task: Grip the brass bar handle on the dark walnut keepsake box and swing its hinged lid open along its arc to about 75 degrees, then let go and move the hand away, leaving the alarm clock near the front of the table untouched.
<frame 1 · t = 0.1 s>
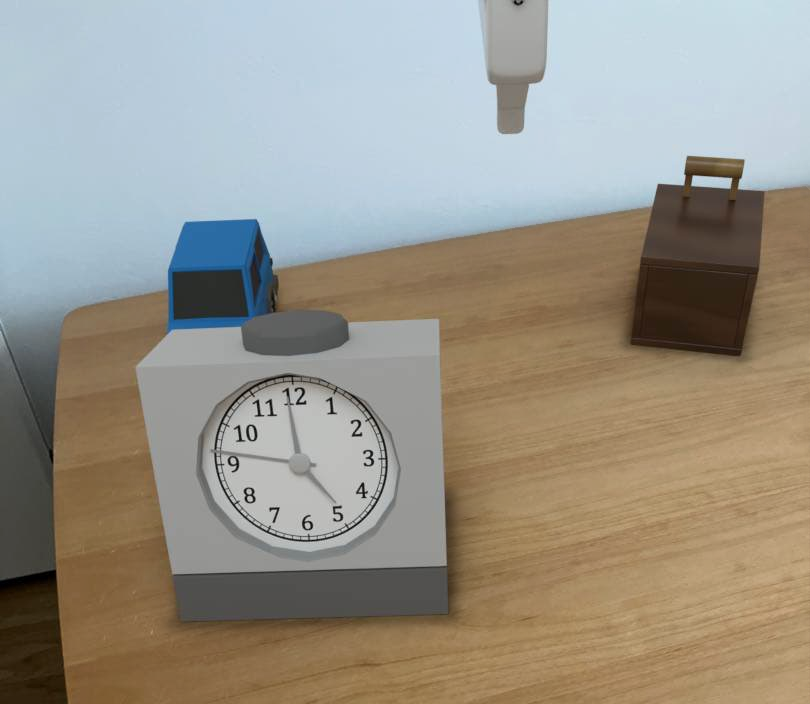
hand: (506, 103, 72), 29 cm above the table, tool pointing down, fingers open, 8 cm apart
chest: (690, 311, 104), on the table
alarm clock: (321, 546, 82), on the table
lid: (707, 206, 97), point 11 cm above the table, hinge at 0.0°
toy car: (226, 351, 104), on the table
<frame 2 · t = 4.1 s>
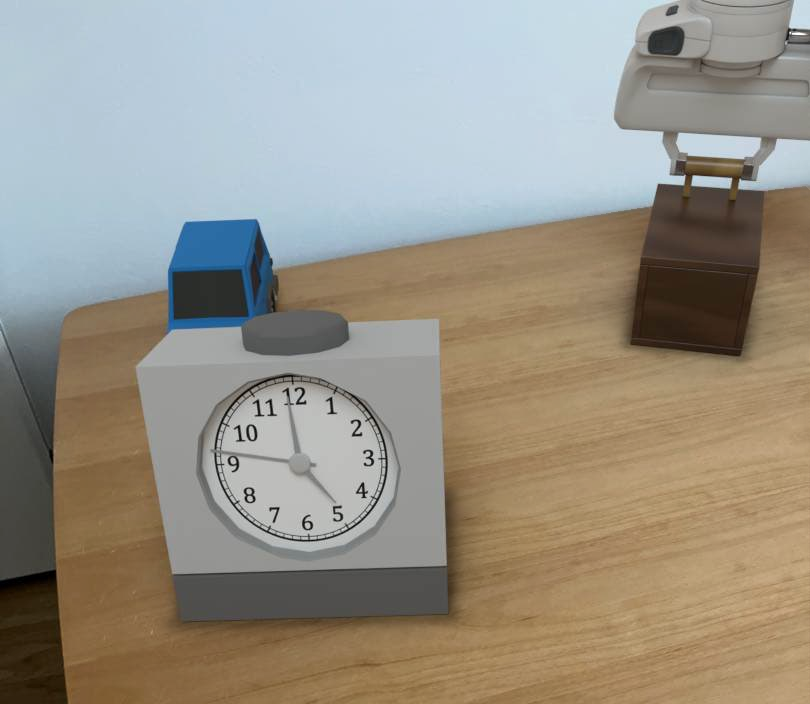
hand: (712, 176, 100), 12 cm above the table, tool pointing down, fingers closed on lid, 5 cm apart
lid: (707, 206, 97), point 11 cm above the table, hinge at 0.0°, touching gripper
everything else where it was.
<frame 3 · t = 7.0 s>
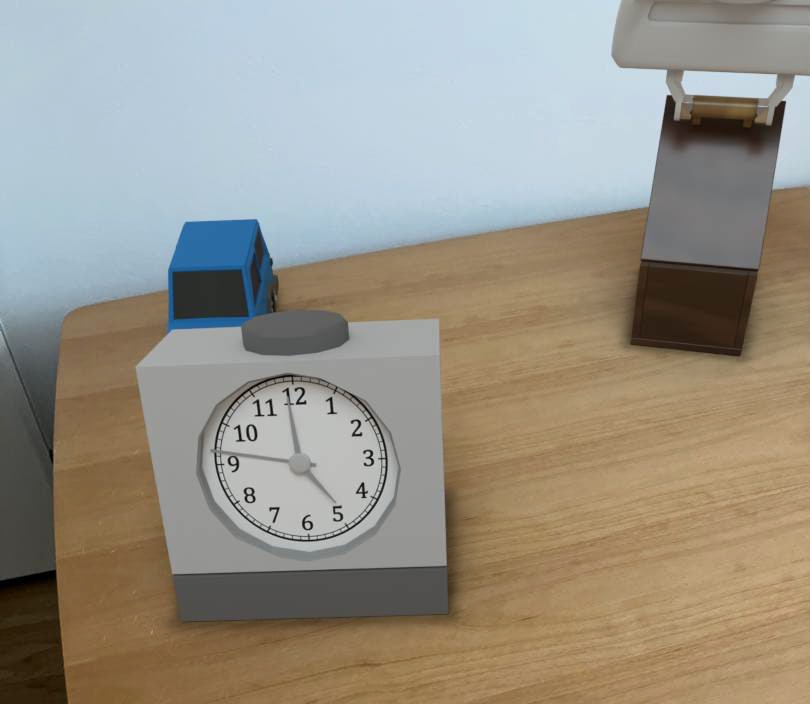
hand: (721, 120, 90), 20 cm above the table, tool pointing down, fingers closed on lid, 5 cm apart
lid: (713, 174, 91), point 16 cm above the table, hinge at 45.0°, touching gripper
everything else where it was.
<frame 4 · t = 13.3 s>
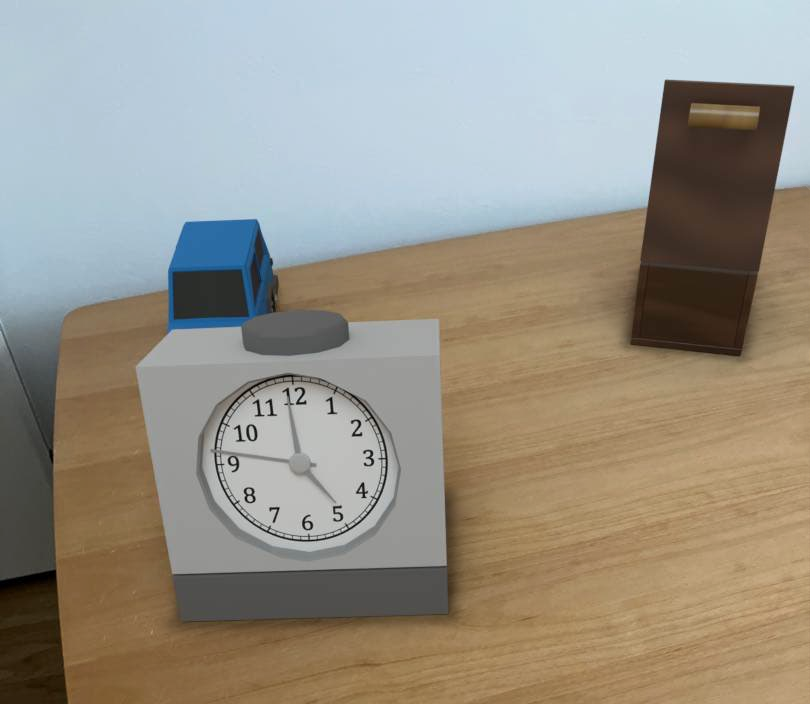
lid: (712, 181, 87), point 17 cm above the table, hinge at 74.4°
everything else where it was.
at the end: lid at +74° (first picture: +0°); the gripper is holding nothing; alarm clock moved 0.2 cm from its start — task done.
